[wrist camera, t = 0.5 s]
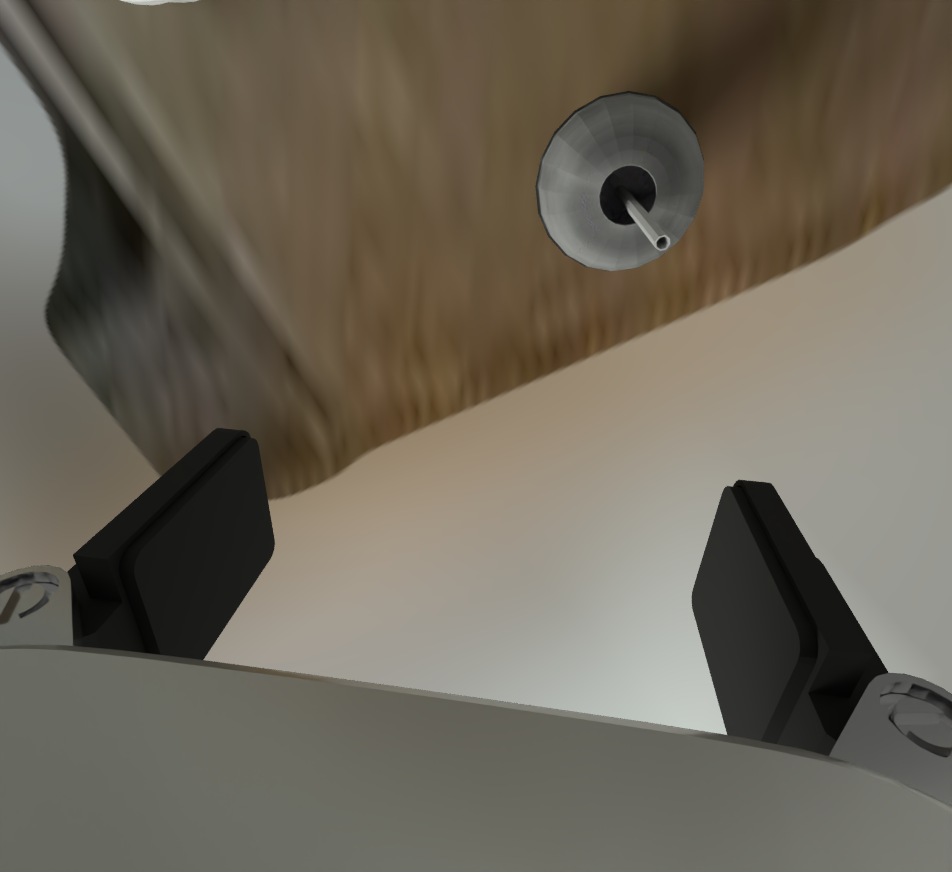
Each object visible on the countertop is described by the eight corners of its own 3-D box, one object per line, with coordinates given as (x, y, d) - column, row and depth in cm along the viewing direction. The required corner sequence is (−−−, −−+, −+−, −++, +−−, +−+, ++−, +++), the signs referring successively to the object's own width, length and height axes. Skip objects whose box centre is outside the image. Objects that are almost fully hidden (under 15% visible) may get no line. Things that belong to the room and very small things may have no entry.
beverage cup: (623, 74, 33) (702, 6, 15) (682, 186, 35) (810, 240, 17) (518, 156, 35) (482, 180, 18) (580, 255, 38) (600, 363, 20)
